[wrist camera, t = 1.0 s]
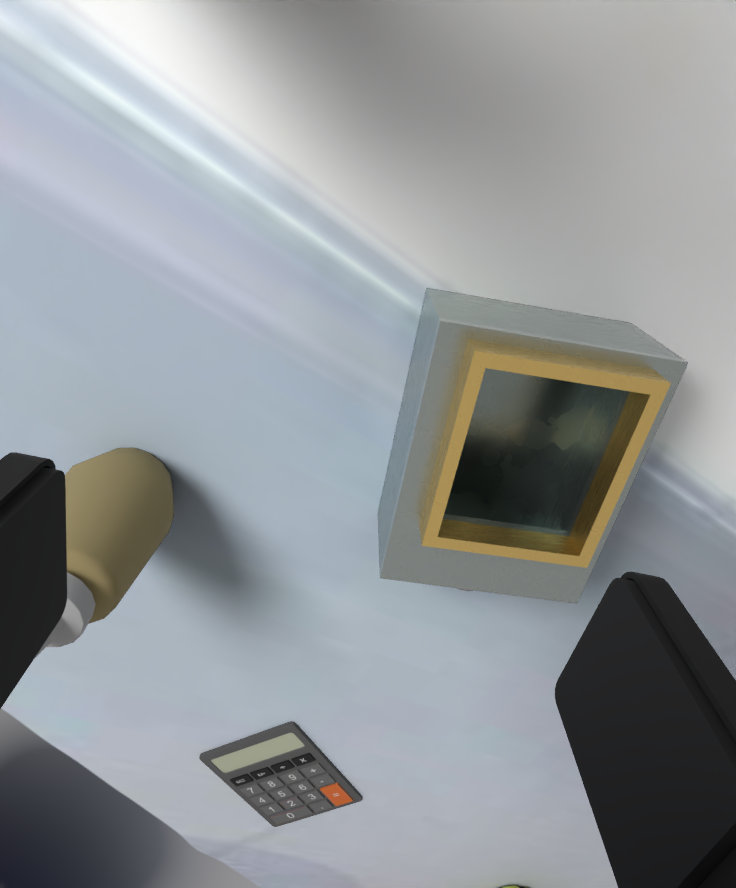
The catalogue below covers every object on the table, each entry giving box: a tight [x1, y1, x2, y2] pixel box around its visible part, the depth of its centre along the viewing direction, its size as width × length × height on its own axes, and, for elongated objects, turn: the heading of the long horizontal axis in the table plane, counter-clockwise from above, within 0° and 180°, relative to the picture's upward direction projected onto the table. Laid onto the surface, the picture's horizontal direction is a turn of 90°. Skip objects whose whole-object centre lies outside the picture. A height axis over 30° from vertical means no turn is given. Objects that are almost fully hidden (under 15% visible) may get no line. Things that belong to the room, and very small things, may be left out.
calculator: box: [199, 721, 362, 827], centre depth 61 cm, size 12×1×15 cm
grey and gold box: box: [378, 288, 688, 603], centre depth 38 cm, size 20×14×10 cm
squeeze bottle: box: [35, 448, 174, 657], centre depth 36 cm, size 8×8×18 cm
